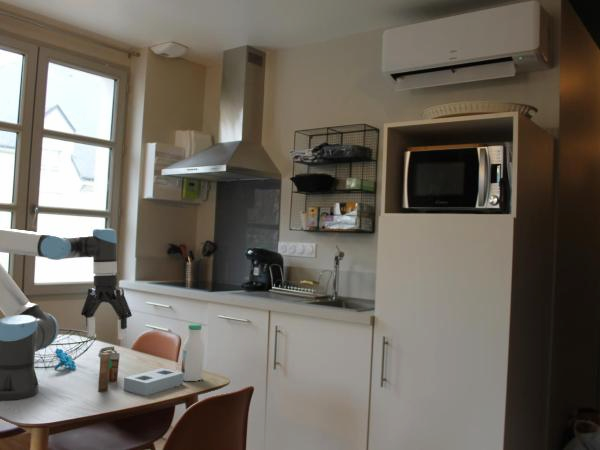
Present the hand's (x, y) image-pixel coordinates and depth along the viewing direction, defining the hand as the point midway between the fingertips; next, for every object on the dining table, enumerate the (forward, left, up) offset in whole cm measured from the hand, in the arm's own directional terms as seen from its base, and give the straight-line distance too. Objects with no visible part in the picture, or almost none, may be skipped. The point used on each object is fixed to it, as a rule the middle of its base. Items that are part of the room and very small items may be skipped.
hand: (106, 337), depth 186 cm
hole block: (+10, -13, -16) cm, 23 cm away
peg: (-4, -4, -16) cm, 17 cm away
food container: (+7, +7, -17) cm, 19 cm away
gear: (+6, +27, -17) cm, 32 cm away
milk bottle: (+26, -16, -17) cm, 35 cm away
